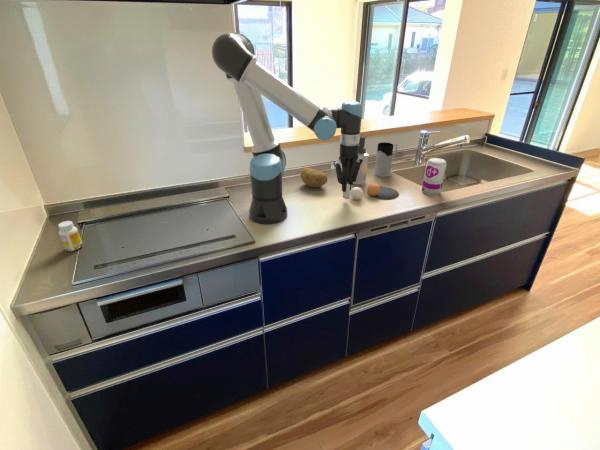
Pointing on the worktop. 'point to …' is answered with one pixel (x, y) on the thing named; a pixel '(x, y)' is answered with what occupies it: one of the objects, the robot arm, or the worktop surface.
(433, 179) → the supplement can
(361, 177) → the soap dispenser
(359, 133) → the robot arm
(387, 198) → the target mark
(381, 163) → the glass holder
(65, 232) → the supplement bottle
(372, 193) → the object ball
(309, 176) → the potato
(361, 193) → the cue ball
